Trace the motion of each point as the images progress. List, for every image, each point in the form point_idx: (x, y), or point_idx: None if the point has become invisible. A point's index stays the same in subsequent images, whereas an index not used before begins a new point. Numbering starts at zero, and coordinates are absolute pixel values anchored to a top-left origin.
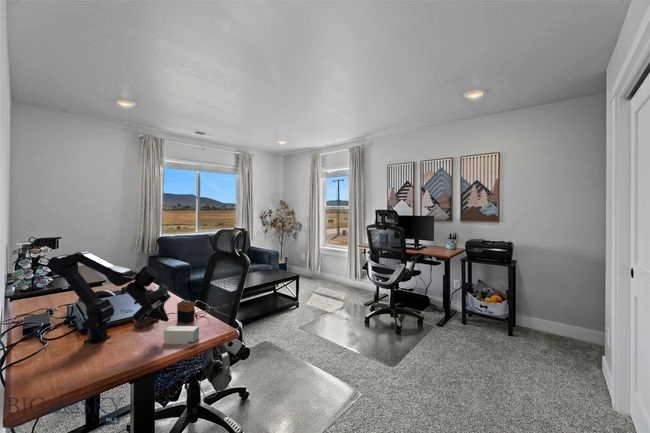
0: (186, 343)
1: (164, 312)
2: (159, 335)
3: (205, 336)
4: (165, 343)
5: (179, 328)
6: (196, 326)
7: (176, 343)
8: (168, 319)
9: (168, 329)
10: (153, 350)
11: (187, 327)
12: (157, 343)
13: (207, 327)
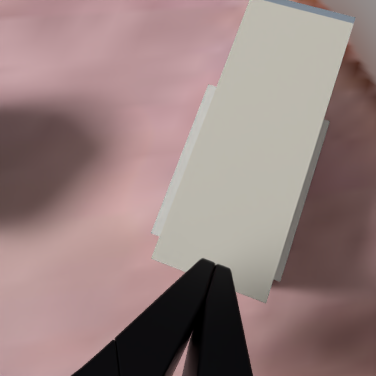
0: (328, 124)
1: (151, 366)
2: (97, 340)
3: (233, 20)
4: (282, 272)
5: (251, 151)
6: (250, 10)
7: (307, 191)
8: (212, 263)
9: (244, 256)
10: (370, 348)
11: (248, 82)
12: (249, 335)
13: (85, 17)
